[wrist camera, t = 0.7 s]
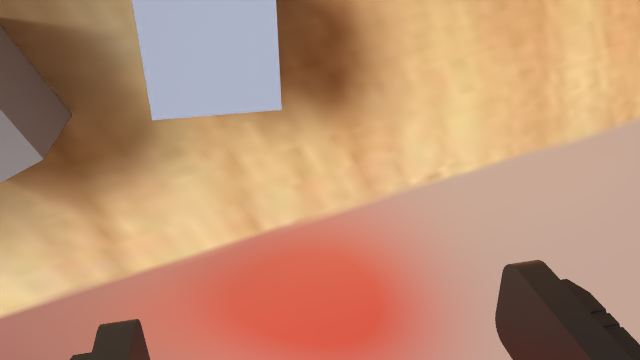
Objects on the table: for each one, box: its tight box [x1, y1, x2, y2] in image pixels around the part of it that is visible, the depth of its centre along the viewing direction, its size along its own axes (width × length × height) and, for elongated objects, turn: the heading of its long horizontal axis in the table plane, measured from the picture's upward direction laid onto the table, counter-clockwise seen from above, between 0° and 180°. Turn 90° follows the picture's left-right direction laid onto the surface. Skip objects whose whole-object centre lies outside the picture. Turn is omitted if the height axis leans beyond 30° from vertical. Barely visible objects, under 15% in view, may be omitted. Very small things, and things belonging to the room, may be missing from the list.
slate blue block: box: [132, 0, 282, 120], centre depth 26 cm, size 6×6×6 cm
